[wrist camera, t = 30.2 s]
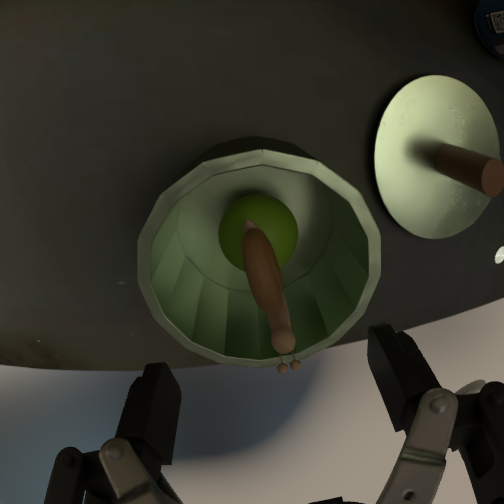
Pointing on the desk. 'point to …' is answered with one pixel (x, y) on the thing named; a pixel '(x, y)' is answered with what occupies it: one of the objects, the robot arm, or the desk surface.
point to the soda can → (491, 25)
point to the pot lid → (436, 156)
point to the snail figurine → (263, 259)
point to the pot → (235, 280)
